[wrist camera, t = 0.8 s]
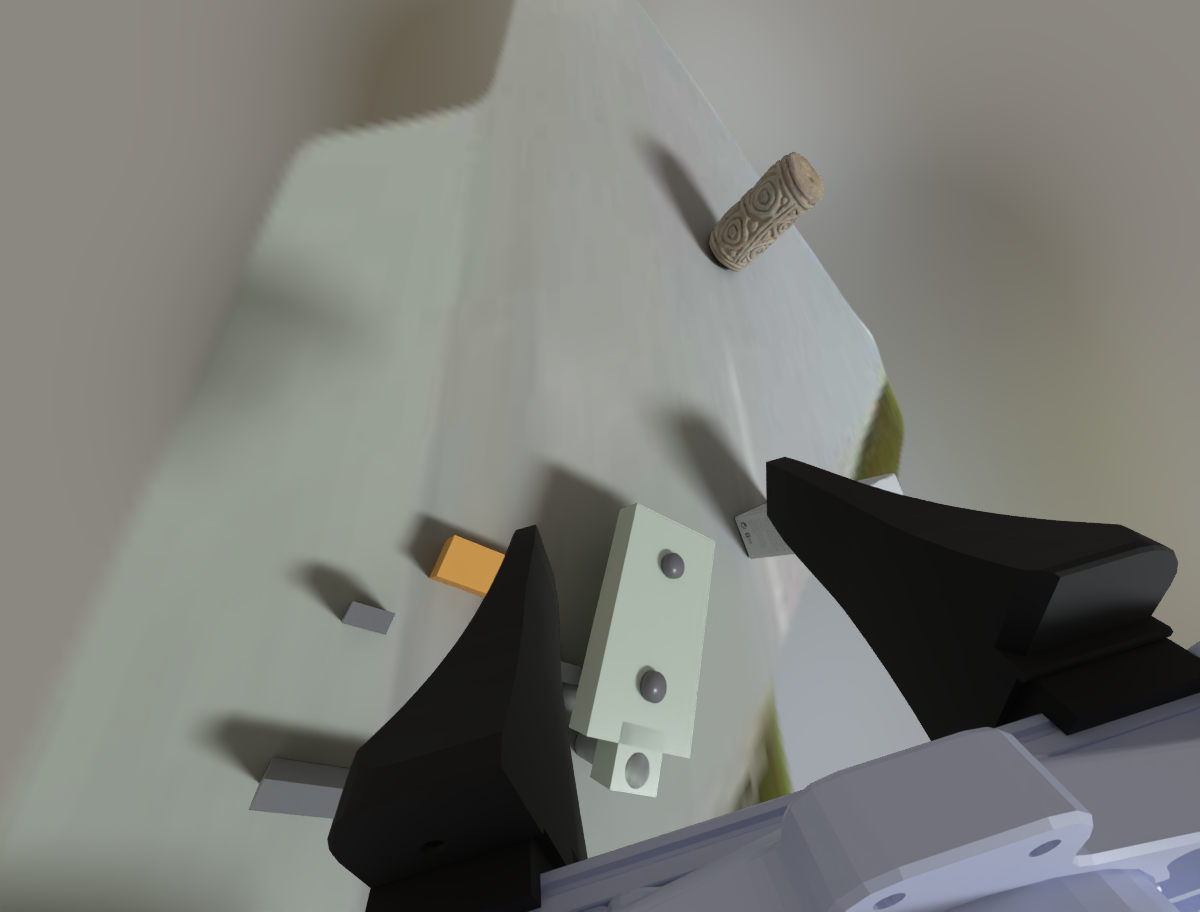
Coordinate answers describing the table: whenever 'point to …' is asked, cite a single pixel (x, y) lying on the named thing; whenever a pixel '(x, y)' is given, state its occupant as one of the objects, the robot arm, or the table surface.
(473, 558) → the orange cuboid brick
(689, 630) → the cover
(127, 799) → the table surface
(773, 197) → the carving
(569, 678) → the long grey beam
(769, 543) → the skincare box
